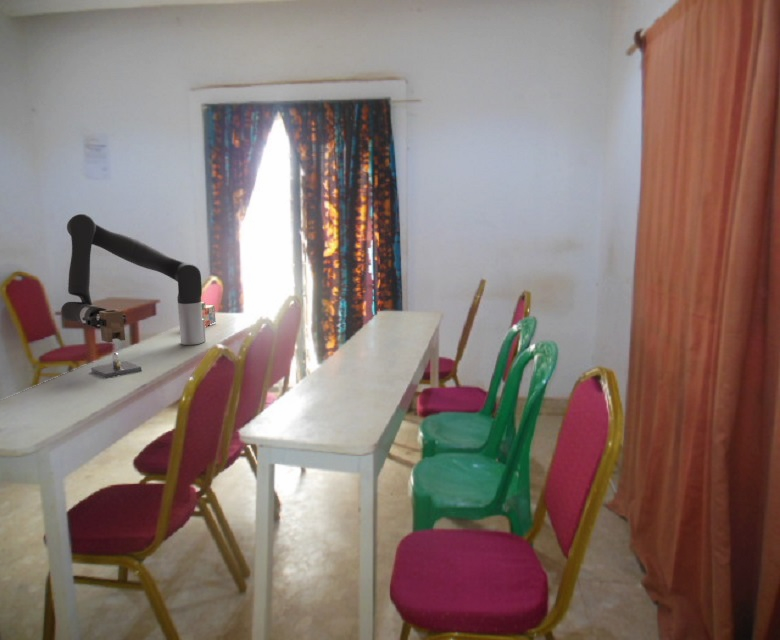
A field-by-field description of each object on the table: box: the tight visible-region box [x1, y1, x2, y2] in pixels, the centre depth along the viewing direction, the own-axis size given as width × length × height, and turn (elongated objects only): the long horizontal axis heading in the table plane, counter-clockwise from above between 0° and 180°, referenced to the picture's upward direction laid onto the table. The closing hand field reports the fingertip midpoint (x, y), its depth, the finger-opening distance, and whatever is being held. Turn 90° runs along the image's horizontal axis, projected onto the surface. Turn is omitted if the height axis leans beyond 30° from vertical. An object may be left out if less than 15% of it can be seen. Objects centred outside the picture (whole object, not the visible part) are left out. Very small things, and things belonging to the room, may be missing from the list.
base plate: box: [90, 352, 142, 379], centre depth 203 cm, size 12×12×6 cm
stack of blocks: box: [201, 301, 216, 326], centre depth 279 cm, size 21×6×12 cm, turn 170°
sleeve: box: [99, 308, 126, 344], centre depth 200 cm, size 6×6×10 cm
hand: (114, 322), depth 198 cm, fingers closed on sleeve, 5 cm apart
